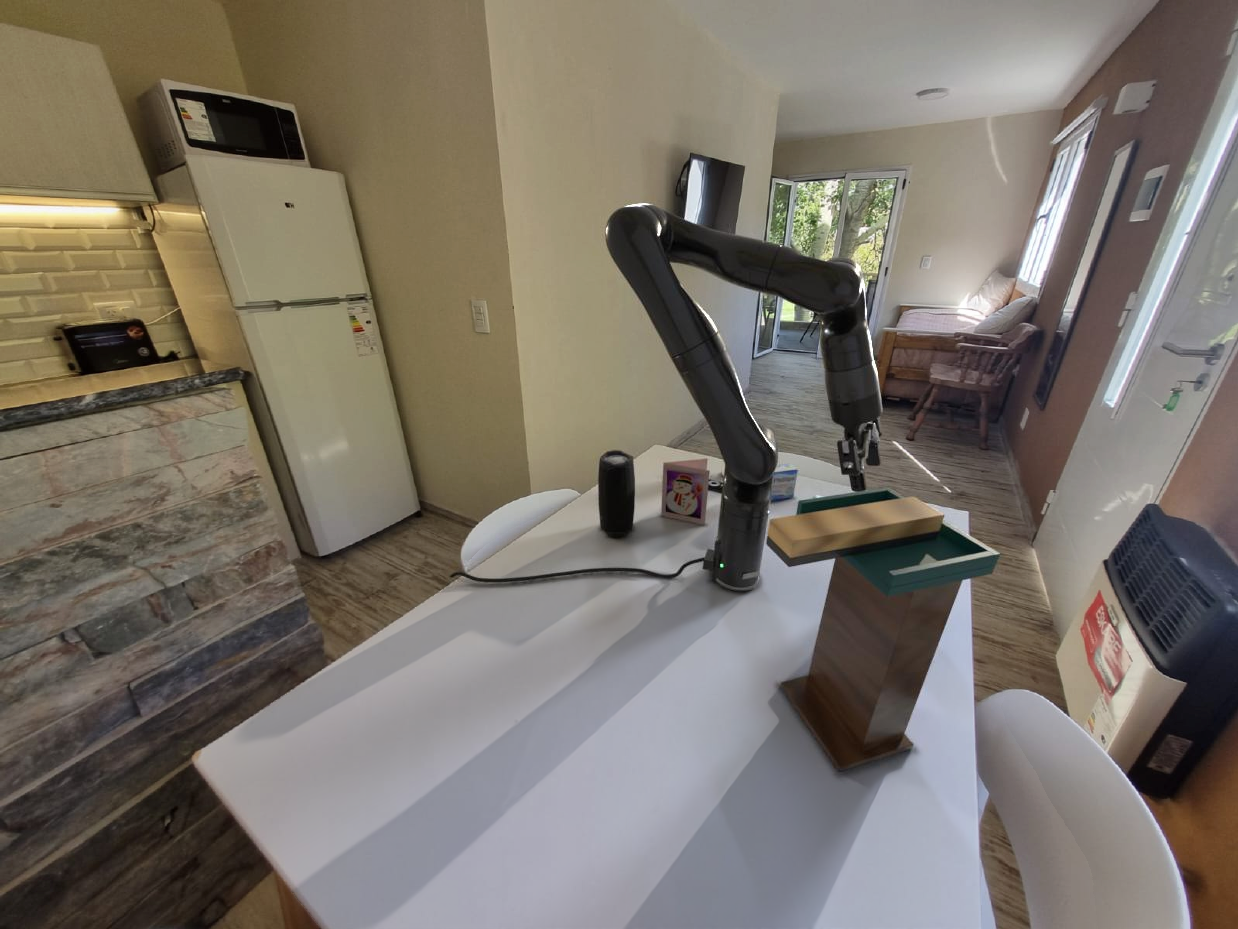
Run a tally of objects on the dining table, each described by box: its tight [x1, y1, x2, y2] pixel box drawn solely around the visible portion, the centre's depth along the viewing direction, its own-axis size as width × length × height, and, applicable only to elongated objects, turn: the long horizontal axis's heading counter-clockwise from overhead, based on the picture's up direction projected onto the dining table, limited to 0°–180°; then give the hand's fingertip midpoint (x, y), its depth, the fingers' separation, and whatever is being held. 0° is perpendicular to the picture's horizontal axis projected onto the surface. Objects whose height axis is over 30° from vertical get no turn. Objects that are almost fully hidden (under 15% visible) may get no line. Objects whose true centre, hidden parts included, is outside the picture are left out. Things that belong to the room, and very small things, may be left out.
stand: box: [779, 557, 964, 773], centre depth 65 cm, size 12×14×31 cm
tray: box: [795, 486, 1001, 597], centre depth 57 cm, size 14×16×3 cm
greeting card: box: [660, 458, 711, 526], centre depth 120 cm, size 11×7×15 cm, turn 67°
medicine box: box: [771, 463, 799, 502], centre depth 131 cm, size 8×4×9 cm, turn 105°
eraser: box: [765, 496, 946, 568], centre depth 55 cm, size 20×5×3 cm, turn 106°
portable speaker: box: [597, 449, 636, 539], centre depth 113 cm, size 9×9×20 cm
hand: (866, 477), depth 82 cm, fingers open, 8 cm apart
